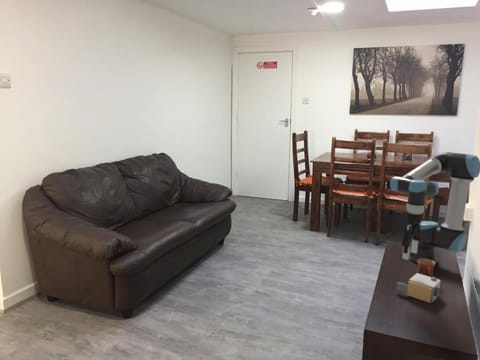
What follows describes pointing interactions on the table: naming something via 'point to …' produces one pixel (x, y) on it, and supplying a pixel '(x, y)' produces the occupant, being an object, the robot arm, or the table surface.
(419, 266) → the mug
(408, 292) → the door
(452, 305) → the table surface
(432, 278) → the housing
